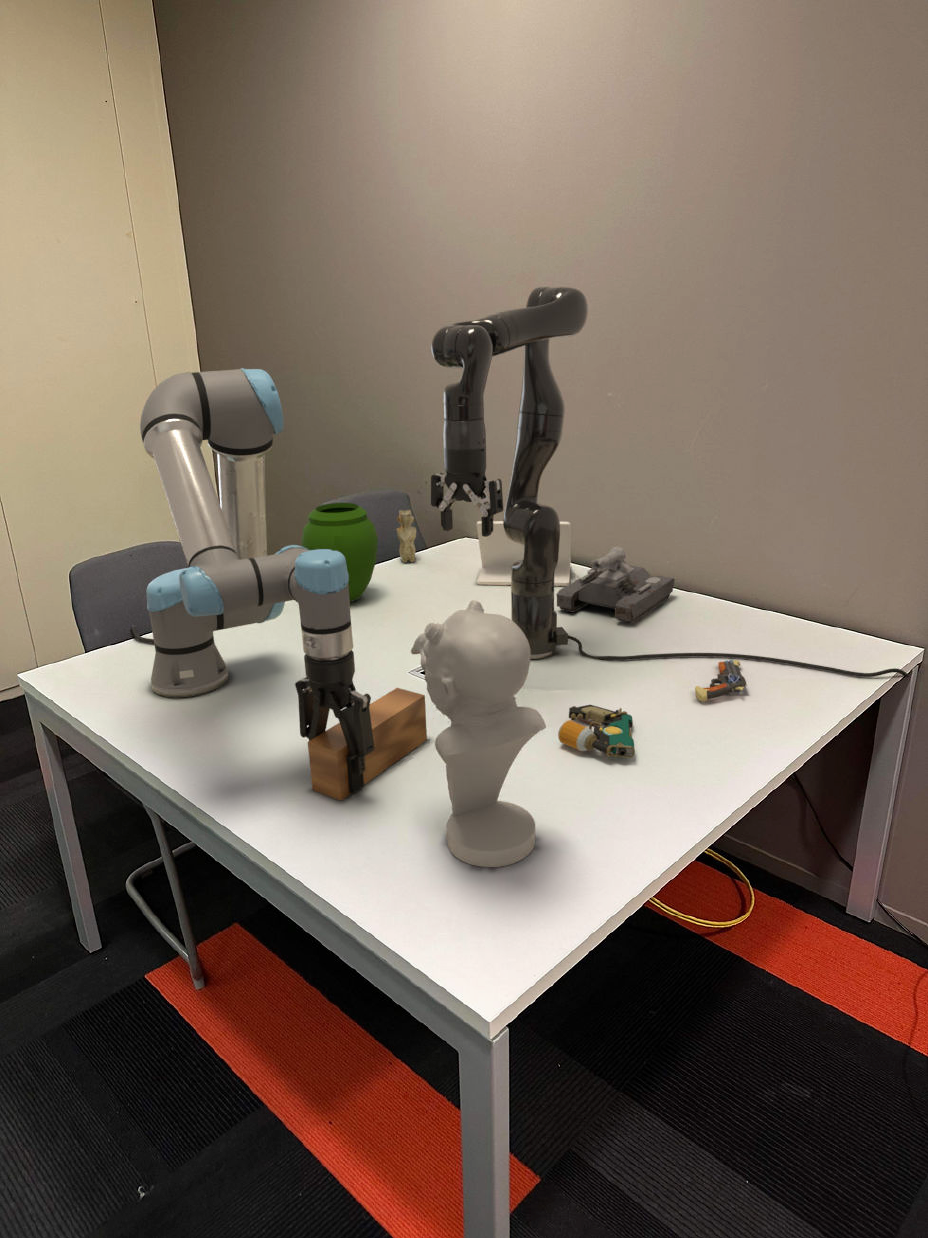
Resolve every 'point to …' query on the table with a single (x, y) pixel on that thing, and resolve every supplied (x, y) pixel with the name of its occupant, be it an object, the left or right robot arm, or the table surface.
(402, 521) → the sculpture
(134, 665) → the table surface
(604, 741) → the spray gun
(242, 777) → the table surface
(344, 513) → the vase
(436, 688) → the bust sculpture
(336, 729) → the box
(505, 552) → the tablet stand
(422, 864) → the table surface
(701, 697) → the toy gun
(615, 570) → the toy
